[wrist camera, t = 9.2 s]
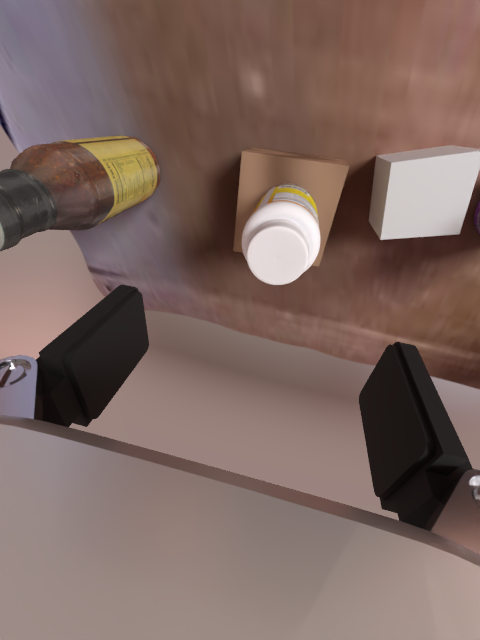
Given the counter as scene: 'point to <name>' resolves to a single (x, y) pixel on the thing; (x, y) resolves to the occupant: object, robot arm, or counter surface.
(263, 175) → the brown square block
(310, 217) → the supplement bottle
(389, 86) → the counter surface
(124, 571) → the robot arm
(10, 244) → the sauce bottle
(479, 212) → the beverage can
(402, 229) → the white cube
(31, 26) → the counter surface
